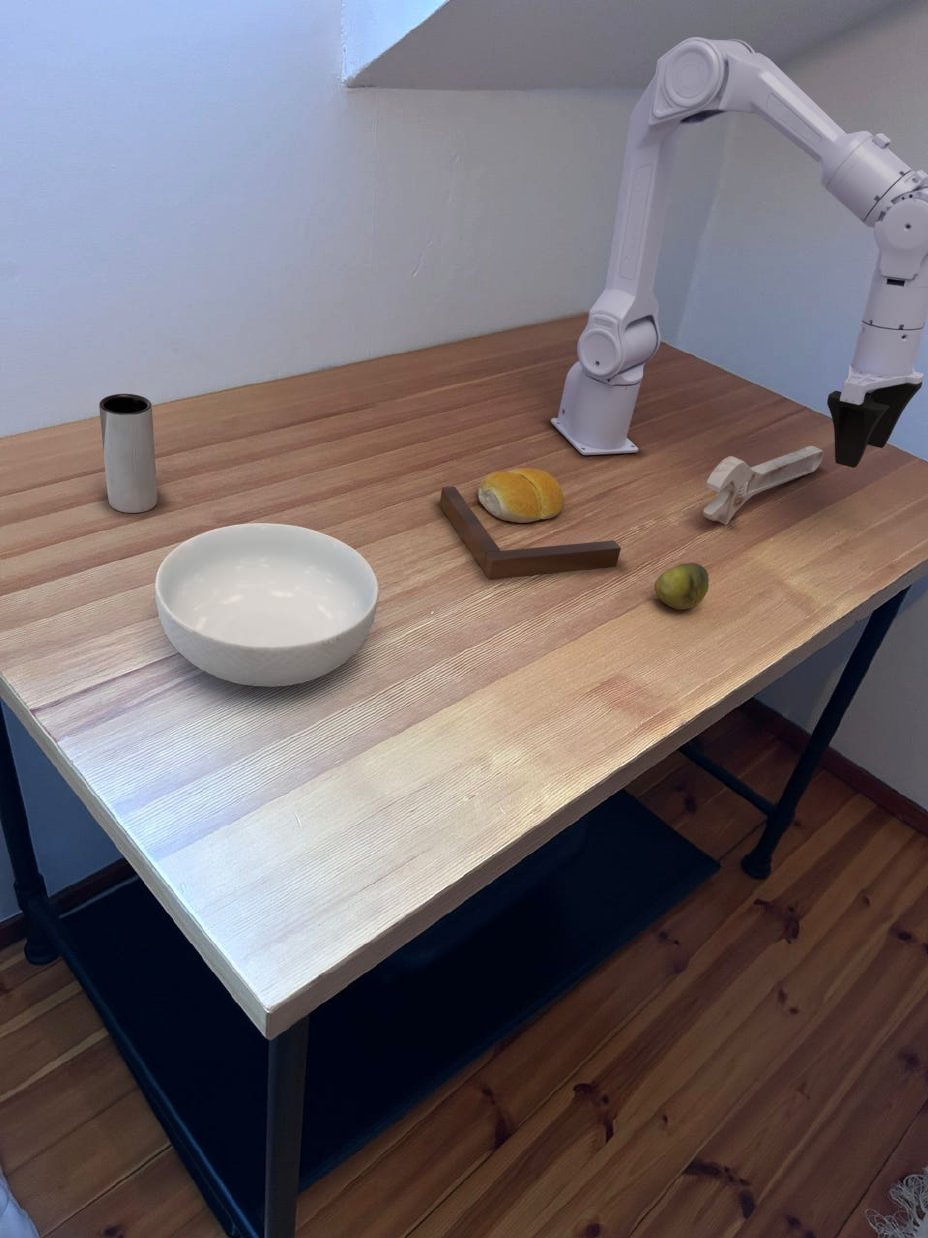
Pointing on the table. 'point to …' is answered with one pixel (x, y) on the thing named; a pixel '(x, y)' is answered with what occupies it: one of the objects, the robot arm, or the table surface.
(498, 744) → the table surface
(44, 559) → the table surface
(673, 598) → the lime
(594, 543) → the corner stop
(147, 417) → the grey cylindrical vase
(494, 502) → the bread roll
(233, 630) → the cereal bowl
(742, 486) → the wrench
